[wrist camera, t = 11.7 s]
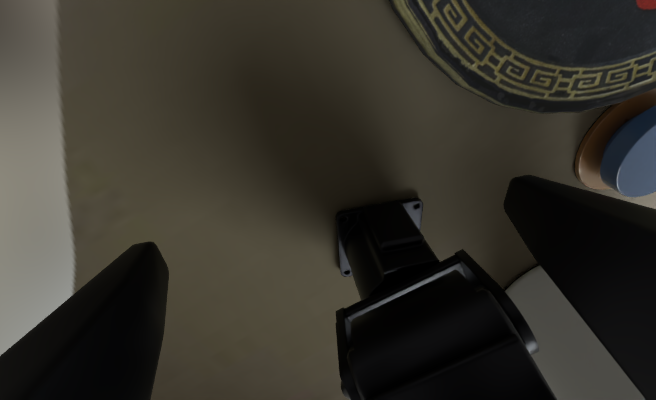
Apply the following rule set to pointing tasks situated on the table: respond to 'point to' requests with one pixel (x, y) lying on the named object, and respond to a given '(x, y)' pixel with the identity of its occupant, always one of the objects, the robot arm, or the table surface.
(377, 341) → the robot arm
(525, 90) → the decorative plate
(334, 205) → the table surface
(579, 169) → the coaster
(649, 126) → the flat blue disc
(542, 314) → the cylinder vase
